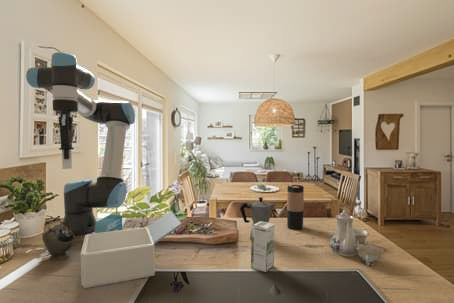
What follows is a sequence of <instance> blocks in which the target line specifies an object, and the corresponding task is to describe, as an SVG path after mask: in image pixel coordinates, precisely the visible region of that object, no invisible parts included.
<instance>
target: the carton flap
mask: <svg viewBox="0 0 454 303" xmlns="http://www.w3.org/2000/svg"><path fill="white" fill-rule="evenodd" d="M182 226H183V224H182V222H181V221H180V220H179V218H178V217H176V215H175V214H174V213H173V211H171V210H170V211H169V212H167V213H166V214H164V215H162V216H161V217H160V218H158V219H156V220H155V221H154V222H151V224H149V225H147V228H148V230H149V232H150V235H151V237H152V239H153V242H154V244H157V243H158V242H160V241H161V240H163V239H164V238H166V237H167V236H168V235H170V234H171V233H172V232H174V231H176V230H177V229H178V228H180V227H182Z"/></svg>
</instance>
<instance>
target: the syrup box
mask: <svg viewBox="0 0 454 303" xmlns="http://www.w3.org/2000/svg"><path fill="white" fill-rule="evenodd" d="M275 227H276V225H275V223H274V224H273V223H270V222H269V223H268V222H261V221H260V222H258V223H256V224H254V225H251V229H252V241H251V240H250V241H251V242H250V243H251V245H250V246H251V248H250V250H251V252H250V253H251V254H250V256H251V257H250V268H251V269H255V270H258V271H261V272H265V273H267V272H268V271H269V270H270V269H271V268H272V267H274V265H275V263H274V262H275V261H274V260H275Z"/></svg>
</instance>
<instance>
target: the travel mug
mask: <svg viewBox="0 0 454 303" xmlns="http://www.w3.org/2000/svg"><path fill="white" fill-rule="evenodd" d="M304 187H305V186H304V185H301V184H292V185H287V188H286V189H287V192H286V195H287V196H286V201H287V202H286V203H287V204H286V208H287V209H286V220H287V222H286V223H287V224H286V226H287V229H288V230H293V231H301V230H302V229H303V228H304V213H305V212H304V209H305V207H304V206H305V204H304V201H305V200H304V199H305V197H304V196H305V195H304V194H305V193H304V190H305V189H304Z"/></svg>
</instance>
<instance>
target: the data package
mask: <svg viewBox="0 0 454 303" xmlns="http://www.w3.org/2000/svg"><path fill="white" fill-rule="evenodd" d="M96 221H97V222H96V224H95V230H94V233H102V232H110V231H119V230H123V216H122V215H121V214H109V215H107V216H105V217H103V218H101V219H99V220H96Z"/></svg>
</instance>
